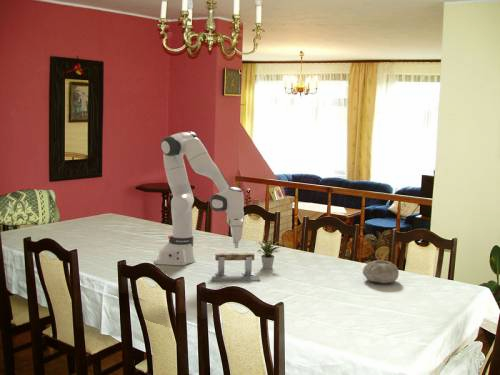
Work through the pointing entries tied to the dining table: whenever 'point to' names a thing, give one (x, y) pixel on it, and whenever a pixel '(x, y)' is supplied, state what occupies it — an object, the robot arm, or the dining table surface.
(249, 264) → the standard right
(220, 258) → the standard left
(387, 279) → the grey flattened round lump
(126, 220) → the dining table surface
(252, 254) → the rail
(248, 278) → the pad
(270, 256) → the house plant
